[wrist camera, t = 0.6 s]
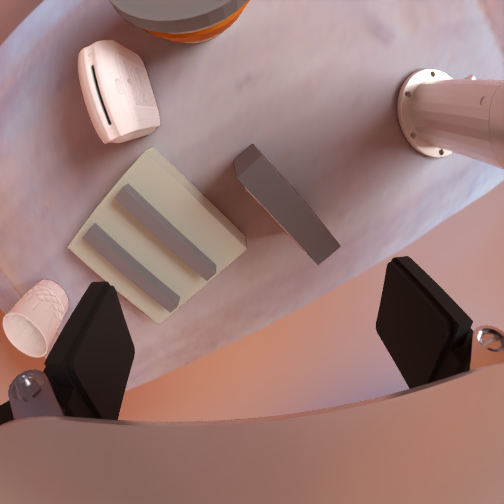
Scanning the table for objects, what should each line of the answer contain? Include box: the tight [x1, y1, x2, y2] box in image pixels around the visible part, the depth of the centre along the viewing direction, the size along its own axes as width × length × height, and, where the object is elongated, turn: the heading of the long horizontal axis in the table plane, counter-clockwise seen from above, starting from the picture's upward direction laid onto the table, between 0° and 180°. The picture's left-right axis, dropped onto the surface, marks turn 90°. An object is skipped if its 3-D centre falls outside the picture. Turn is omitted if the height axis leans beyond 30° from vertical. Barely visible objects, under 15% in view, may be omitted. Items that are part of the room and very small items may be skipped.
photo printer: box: [78, 40, 160, 144], centre depth 26 cm, size 10×4×12 cm, turn 15°
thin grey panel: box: [234, 144, 341, 265], centre depth 33 cm, size 3×12×10 cm, turn 42°
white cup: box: [3, 279, 68, 358], centre depth 37 cm, size 8×8×10 cm
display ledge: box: [68, 146, 247, 325], centre depth 36 cm, size 16×16×6 cm
